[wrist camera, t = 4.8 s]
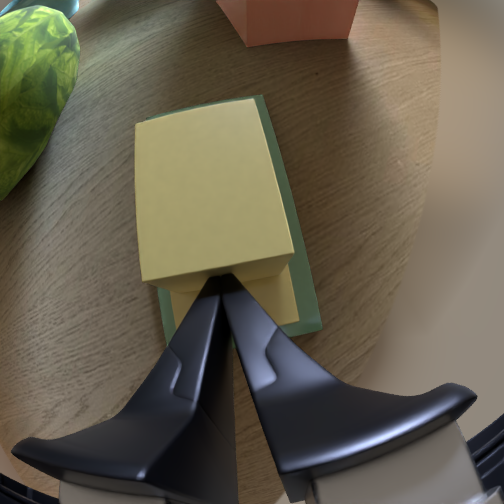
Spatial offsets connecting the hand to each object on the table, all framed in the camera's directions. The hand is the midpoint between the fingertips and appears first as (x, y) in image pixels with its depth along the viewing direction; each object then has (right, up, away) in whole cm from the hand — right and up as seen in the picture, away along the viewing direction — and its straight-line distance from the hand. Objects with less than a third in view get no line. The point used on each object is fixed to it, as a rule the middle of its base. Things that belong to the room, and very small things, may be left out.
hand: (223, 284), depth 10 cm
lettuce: (-22, +14, +11) cm, 28 cm away
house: (+3, +31, +14) cm, 35 cm away
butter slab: (-1, +3, +3) cm, 4 cm away
